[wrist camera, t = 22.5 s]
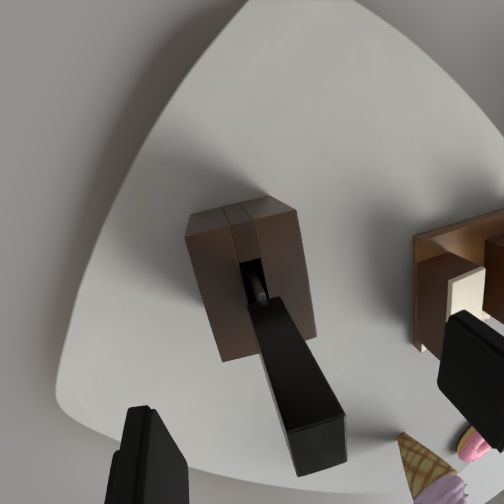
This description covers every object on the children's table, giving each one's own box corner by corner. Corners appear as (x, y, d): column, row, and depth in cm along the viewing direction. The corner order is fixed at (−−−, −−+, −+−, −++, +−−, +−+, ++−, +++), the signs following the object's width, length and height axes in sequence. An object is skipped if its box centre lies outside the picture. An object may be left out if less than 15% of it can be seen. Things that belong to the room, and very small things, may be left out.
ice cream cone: (430, 418, 35) (488, 490, 20) (409, 449, 36) (457, 520, 22) (395, 422, 33) (453, 507, 19) (373, 454, 35) (420, 537, 20)
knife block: (190, 215, 23) (184, 236, 17) (270, 195, 24) (296, 209, 17) (217, 312, 26) (222, 362, 19) (289, 293, 26) (317, 337, 19)
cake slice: (416, 262, 25) (452, 282, 21) (449, 251, 26) (485, 268, 21) (415, 338, 28) (444, 365, 23) (446, 325, 28) (476, 348, 23)
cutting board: (413, 235, 26) (422, 239, 25) (513, 205, 28) (522, 207, 26) (413, 345, 30) (420, 353, 28) (507, 298, 31) (515, 303, 30)
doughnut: (444, 447, 38) (456, 463, 34) (492, 398, 37) (506, 412, 33) (462, 456, 41) (473, 469, 37) (503, 414, 40) (516, 426, 36)
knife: (228, 243, 24) (284, 426, 7) (249, 238, 24) (346, 406, 7) (237, 280, 25) (298, 482, 8) (257, 275, 25) (348, 467, 8)
